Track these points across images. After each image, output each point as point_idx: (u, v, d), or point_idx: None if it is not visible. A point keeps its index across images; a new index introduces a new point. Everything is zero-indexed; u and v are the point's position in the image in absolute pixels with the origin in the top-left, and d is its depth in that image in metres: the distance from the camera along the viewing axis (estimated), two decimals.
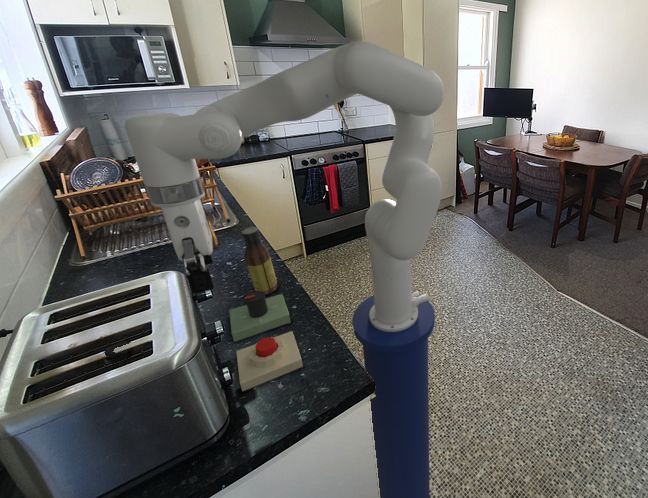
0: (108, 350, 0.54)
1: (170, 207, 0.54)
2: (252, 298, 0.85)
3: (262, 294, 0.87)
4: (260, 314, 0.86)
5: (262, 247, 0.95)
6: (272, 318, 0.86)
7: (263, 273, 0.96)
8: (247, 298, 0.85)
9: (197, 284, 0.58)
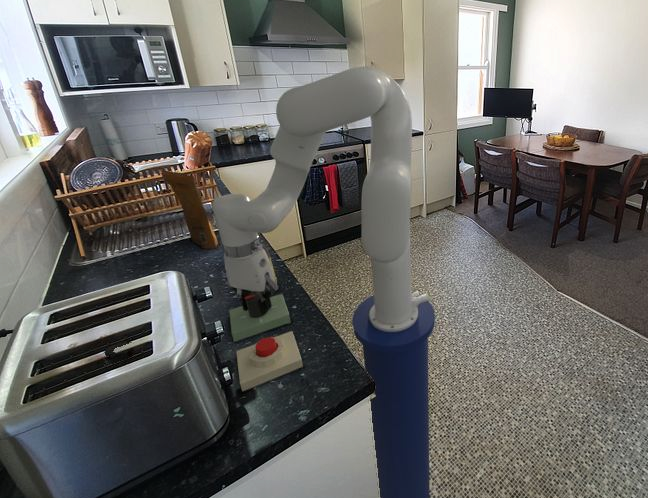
0: (108, 350, 0.54)
1: (255, 255, 0.80)
2: (252, 298, 0.85)
3: None
4: (260, 314, 0.86)
5: None
6: (272, 318, 0.86)
7: None
8: (247, 298, 0.85)
9: (267, 305, 0.86)
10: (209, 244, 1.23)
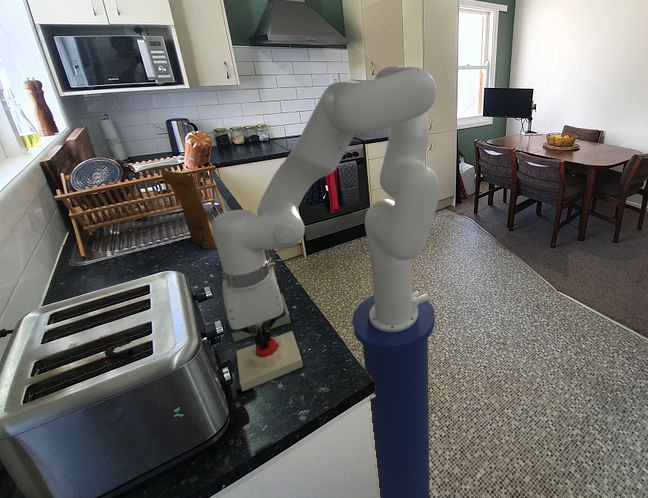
0: (108, 350, 0.54)
1: (270, 274, 0.69)
2: None
3: None
4: None
5: None
6: None
7: None
8: None
9: None
10: (209, 244, 1.23)
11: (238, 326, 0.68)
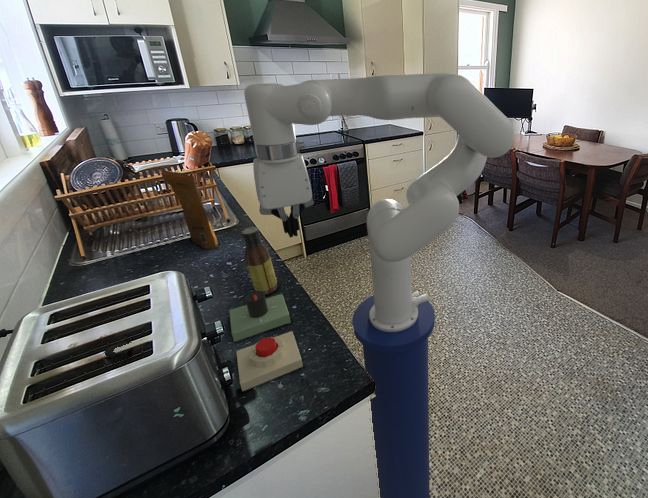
0: (108, 350, 0.54)
1: (300, 156, 0.69)
2: (258, 296, 0.86)
3: (255, 292, 0.88)
4: None
5: (262, 247, 0.95)
6: (272, 318, 0.86)
7: (263, 273, 0.96)
8: (256, 298, 0.85)
9: (298, 224, 0.74)
10: (209, 244, 1.23)
11: (269, 205, 0.68)
